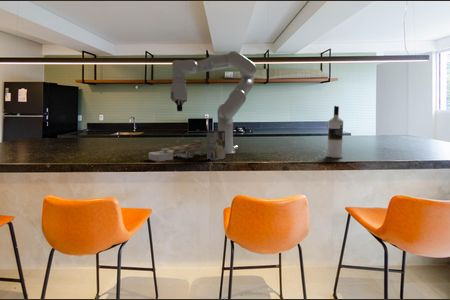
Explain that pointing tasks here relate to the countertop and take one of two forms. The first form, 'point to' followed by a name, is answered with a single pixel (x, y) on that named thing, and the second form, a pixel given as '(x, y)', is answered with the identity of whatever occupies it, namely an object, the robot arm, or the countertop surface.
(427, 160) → the countertop surface
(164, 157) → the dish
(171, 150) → the launcher
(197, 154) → the stand
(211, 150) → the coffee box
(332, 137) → the vodka
